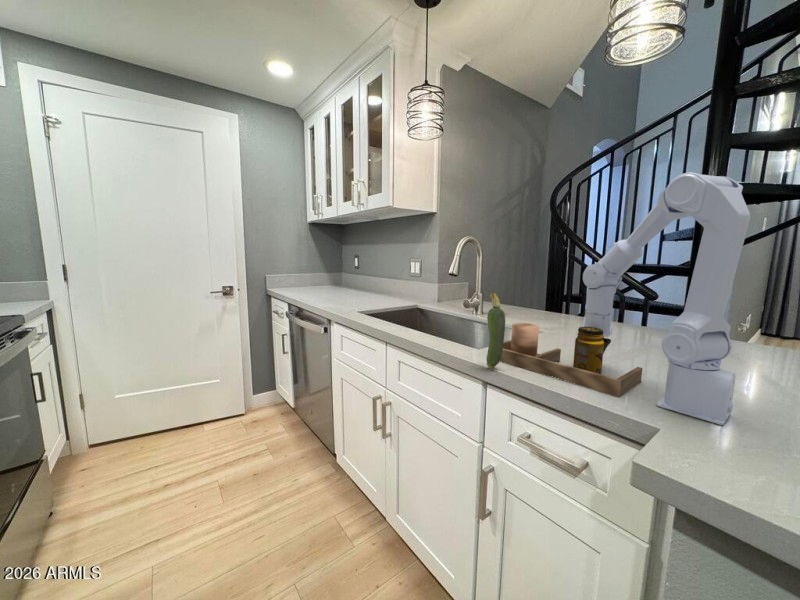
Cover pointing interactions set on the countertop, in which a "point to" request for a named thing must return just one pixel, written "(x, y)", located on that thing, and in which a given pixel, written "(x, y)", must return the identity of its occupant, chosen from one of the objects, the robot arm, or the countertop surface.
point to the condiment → (589, 349)
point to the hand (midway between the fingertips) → (593, 365)
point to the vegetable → (495, 332)
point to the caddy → (526, 356)
